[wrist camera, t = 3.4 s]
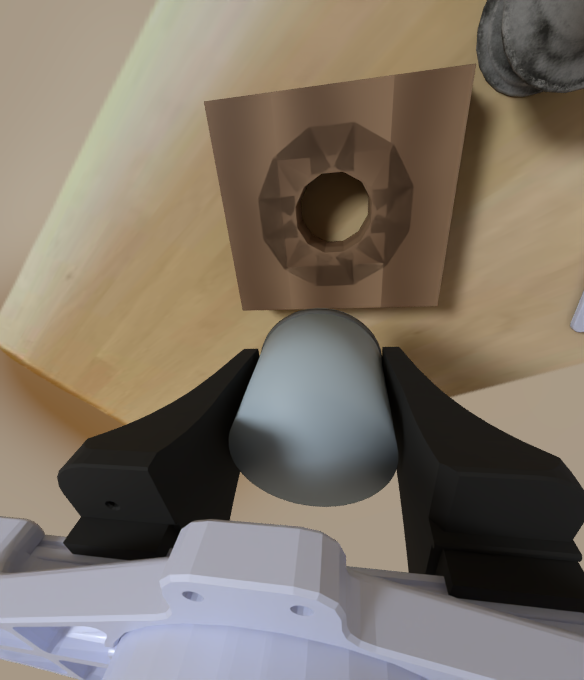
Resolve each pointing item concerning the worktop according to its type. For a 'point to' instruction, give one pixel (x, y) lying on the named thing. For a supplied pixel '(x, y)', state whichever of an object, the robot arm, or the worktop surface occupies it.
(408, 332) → the worktop surface
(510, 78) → the grey flared cylinder
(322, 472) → the peg
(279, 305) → the board
